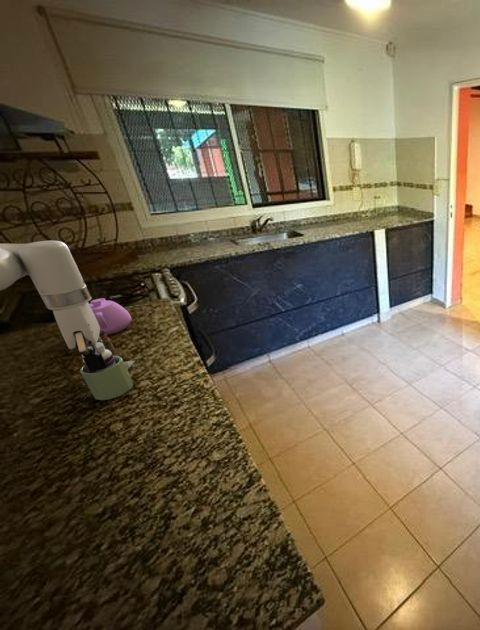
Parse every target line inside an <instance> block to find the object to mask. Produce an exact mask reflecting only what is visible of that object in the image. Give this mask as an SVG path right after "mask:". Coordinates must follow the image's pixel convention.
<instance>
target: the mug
mask: <svg viewBox="0 0 480 630" xmlns="http://www.w3.org/2000/svg"><path fill="white" fill-rule="evenodd" d="M113 357H114V360H115V362H116V365H114V366H112V367H111V368H108V369H106V370H103V371H99V372H95V373H89V372H88V370H87V368H86V366H85V364H84V365H83V366H82V367H80V368H79V373H80V376H81V377H82V380H83V381H84V382H85V384H86V387H87V388H88V391H89V392H90V394H91V396H92V397H93V398H94V400H97V401H106V400H112V399H115V398H117V397H120V396H123V395H124V394H125V393H128V392H129V391H130V390H132V388H133V386H134V382H133V380H132V376H131V375H130V373H129V371H128V370H129V369H128V370H127V368H126V366H125V364H124V362H125V361H124V360H123V358H122V356H119V355H118V356H113Z"/></svg>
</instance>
